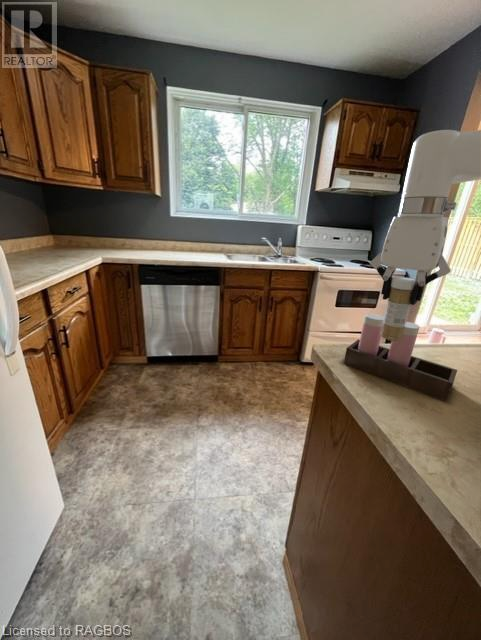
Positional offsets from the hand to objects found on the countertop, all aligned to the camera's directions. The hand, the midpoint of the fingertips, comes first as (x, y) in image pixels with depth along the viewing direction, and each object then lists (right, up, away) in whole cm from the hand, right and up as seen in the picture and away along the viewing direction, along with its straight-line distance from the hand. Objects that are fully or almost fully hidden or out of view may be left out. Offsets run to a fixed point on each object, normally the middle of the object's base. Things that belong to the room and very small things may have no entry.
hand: (399, 300), depth 58 cm
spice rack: (+5, -18, +11) cm, 22 cm away
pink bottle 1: (0, -16, +15) cm, 22 cm away
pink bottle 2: (+5, -18, +11) cm, 21 cm away
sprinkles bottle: (0, -8, +3) cm, 9 cm away
